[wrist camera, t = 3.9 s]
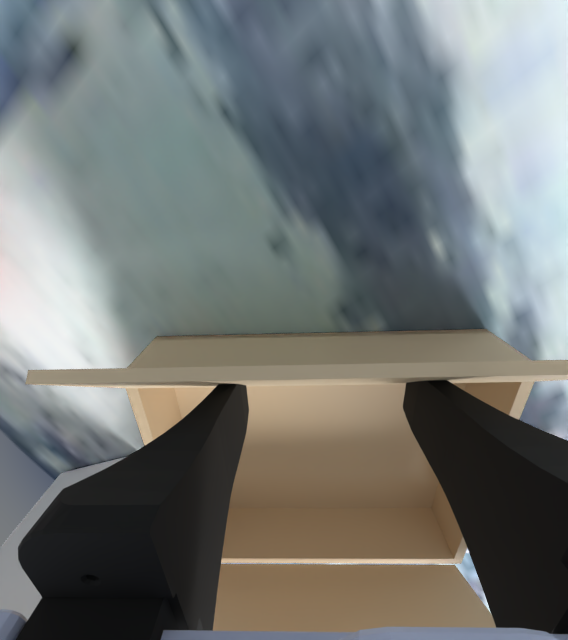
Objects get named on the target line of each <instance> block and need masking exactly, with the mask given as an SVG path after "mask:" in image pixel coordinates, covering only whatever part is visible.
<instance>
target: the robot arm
mask: <svg viewBox="0 0 568 640" xmlns="http://www.w3.org/2000/svg"><path fill="white" fill-rule="evenodd" d="M403 410H404V413H405V415H406V418H407V421H408V423H409V426H410V428H411V431H412V433H413V434H414V436H415V438H416V440H417V442H418V444H419V446H420V448H421V449H422V451H423V453H424V455H425V457H426V459H427V460H428V462H429V464H430V466H431V468H432V470H433V472H434V473H435V475H436V477H437V479H438V481H439V483H440V485H441V487H442V489H443V491H444V493H445V495H446V497H447V499H448V502H449V504H450V506H451V509H452V511H453V514H454V516H455V518H456V521H457V523H458V525H459V528H460V530H461V533H462V535H463V538H464V540H465V543H466V545H467V550H466V553H470V556H471V558H472V561H473V564H474V566H475V569H476V572H477V574H478V577H479V580H480V583H481V585H482V588H483V591H484V593H485V596H486V599H487V602H488V605H489V608H490V611H491V614H492V617H493V619H494V622H495V625H496V628H474V627H380V628H372V629H364V630H359V631H357V632H303V631H213V624H214V616H215V607H216V598H217V590H218V582H219V575H220V567H221V559H222V552H223V545H224V538H225V531H226V524H227V517H228V511H229V504H230V498H231V493H232V488H233V483H234V479H235V476H236V472H237V468H238V464H239V460H240V456H241V452H242V448H243V444H244V440H245V436H246V431H247V424H248V415H249V405H248V396H247V388H246V385H242V384H218V385H217V386H216V387H215V388H214V389H213V390H212V392H211V393H210V394H209V395H208V396H207V397H206V398H205V399H204V400H203V401H202V402H201V403H200V404H198V405H197V406H196V407H195V408H194V409H193V410H192V411H191V412H190V413H189V414H188V415H186V416H185V417H184V418H183V419H182V420H180V421H179V422H178V423H177V424H175V425H174V426H173V427H171V428H170V429H169V430H167V431H166V432H165V433H163V434H162V435H160V436H159V437H157V438H156V439H154V440H153V441H151V442H150V443H148V444H147V445H145V446H144V447H142V448H141V449H139V450H137V451H136V452H134V453H132V454H131V455H129V456H127V457H126V458H124V459H122V460H120V461H118V462H117V463H115V464H113V465H111V466H109V467H107V468H105V469H104V470H102V471H100V472H98V473H95V474H93V475H91V476H89V477H87V478H85V479H83V480H81V481H79V482H77V483H75V484H73V485H70V486H68V487H66V488H64V489H62V491H61V492H60V493H59V494H58V495H57V497H56V498H55V499H54V500H53V502H52V503H51V504H50V505H49V507H48V508H47V509H46V510H45V512H44V513H43V514H42V515H41V517H40V518H39V519H38V520H37V522H36V523H35V524H34V525H33V527H32V528H31V529H30V530H29V532H28V533H27V534H26V535H25V537H24V538H23V539H22V541H21V543H20V544H19V546H18V560H19V562H20V565H21V567H22V569H23V570H24V572H25V573H26V575H27V576H28V577H29V579H30V580H31V582H32V583H33V585H34V586H35V587H36V589H37V590H38V592H39V593H40V595H41V596H42V598H41V600H40V602H39V603H38V605H37V606H36V608H35V610H34V611H33V613H32V614H31V616H30V617H29V619H28V620H27V619H26V618H25V616H23V615H22V614H21V613H18V612H16V611H13V610H6V609H0V640H568V441H567V440H564V439H562V438H559V437H557V436H554V435H552V434H549V433H547V432H544V431H542V430H540V429H537V428H535V427H533V426H531V425H529V424H527V423H524V422H522V421H520V420H518V419H516V418H514V417H512V416H510V415H508V414H506V413H504V412H502V411H500V410H498V409H496V408H494V407H492V406H490V405H489V404H487V403H485V402H483V401H481V400H479V399H478V398H476V397H474V396H472V395H471V394H469V393H467V392H466V391H464V390H462V389H461V388H459V387H457V386H456V385H454V384H452V383H451V382H449V381H447V380H426V381H416V382H407V383H406V388H405V394H404V401H403Z"/></svg>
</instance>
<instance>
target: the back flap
mask: <svg viewBox="0 0 568 640" xmlns="http://www.w3.org/2000/svg"><path fill="white" fill-rule="evenodd" d="M380 627H474V628H496V625H495V622H494V619H493V617H492V614H491V613H490V612H489V610H488V609H487V608H486V606H485V605H484V604H483V602H482V601H481V600H480V598H479V597H478V596H477V594H476V593H475V592H474V590H473V589H472V588H471V586H470V585H469V584H468V582H467V581H466V579H465V578H464V577H463V575H462V574H461V573H460V571H459V570H458V569H457V567H456V566H455V565H326V564H221V567H220V575H219V582H218V590H217V598H216V607H215V616H214V624H213V631H303V632H357V631H359V630H364V629H372V628H380Z"/></svg>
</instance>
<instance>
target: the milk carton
mask: <svg viewBox="0 0 568 640" xmlns="http://www.w3.org/2000/svg"><path fill="white" fill-rule="evenodd" d="M124 458H126V457H123V458H119V459H115V460H111V461H107V462H103V463H99V464H95V465H91V466H87V467H83V468H79V469H75V470H71V471H67V472H63V473H61V474H60V475H59V476H58V477H57V478H56V480H55V481H54V482H53V483H52V485H51V486H50V487H49V488H48V489H47V491H46V492H45V493H44V494H43V495H42V497H41V498H40V499H39V501H38V502H37V503H36V504H35V505H34V507H33V508H32V509H31V510H30V511H29V513H28V514H27V515H26V516H25V517H24V519H23V520H22V521H21V522H20V524H19V525H18V526H17V527H16V528H15V530H14V531H13V532H12V533H11V535H10V536H9V537H8V538H7V539H6V541H5V542H4V543H3V545H2V546H1V547H0V609H6V610H13V611H16V612H18V613H21V614H22V615H23V616H25V618H26V619H27V620H28V619H29V617H30V616H31V614H32V613H33V611H34V610H35V608H36V606H37V605H38V603H39V602H40V600H41V598H42V596H41V595H40V593H39V592H38V590H37V589H36V587H35V586H34V585H33V583H32V582H31V580H30V579H29V577H28V576H27V575H26V573H25V572H24V570H23V569H22V567H21V565H20V562H19V560H18V546H19V544H20V543H21V541H22V539H23V538H24V537H25V535H26V534H27V533H28V532H29V530H30V529H31V528H32V527H33V525H34V524H35V523H36V522H37V520H38V519H39V518H40V517H41V515H42V514H43V513H44V512H45V510H46V509H47V508H48V507H49V505H50V504H51V503H52V502H53V500H54V499H55V498H56V497H57V495H58V494H59V493H60V492H61V491H62V489H64V488H66V487H68V486H70V485H73V484H75V483H77V482H79V481H81V480H83V479H85V478H87V477H89V476H91V475H93V474H95V473H98V472H100V471H102V470H104V469H105V468H107V467H109V466H111V465H113V464H115V463H117V462H118V461H120V460H122V459H124Z"/></svg>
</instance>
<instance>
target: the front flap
mask: <svg viewBox="0 0 568 640" xmlns="http://www.w3.org/2000/svg"><path fill="white" fill-rule="evenodd" d="M426 380H447V381H449V382H451V383H486V382H535V381H553V380H568V360H537V361H484V362H432V363H380V364H328V365H275V366H223V367H171V368H118V369H66V370H28V374H27V379H26V383H25V384H33V385H58V386H83V387H108V388H188V387H216V386H217V385H218V384H242V385H246V387H248V386H307V385H367V384H406V383H407V382H416V381H426Z"/></svg>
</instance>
